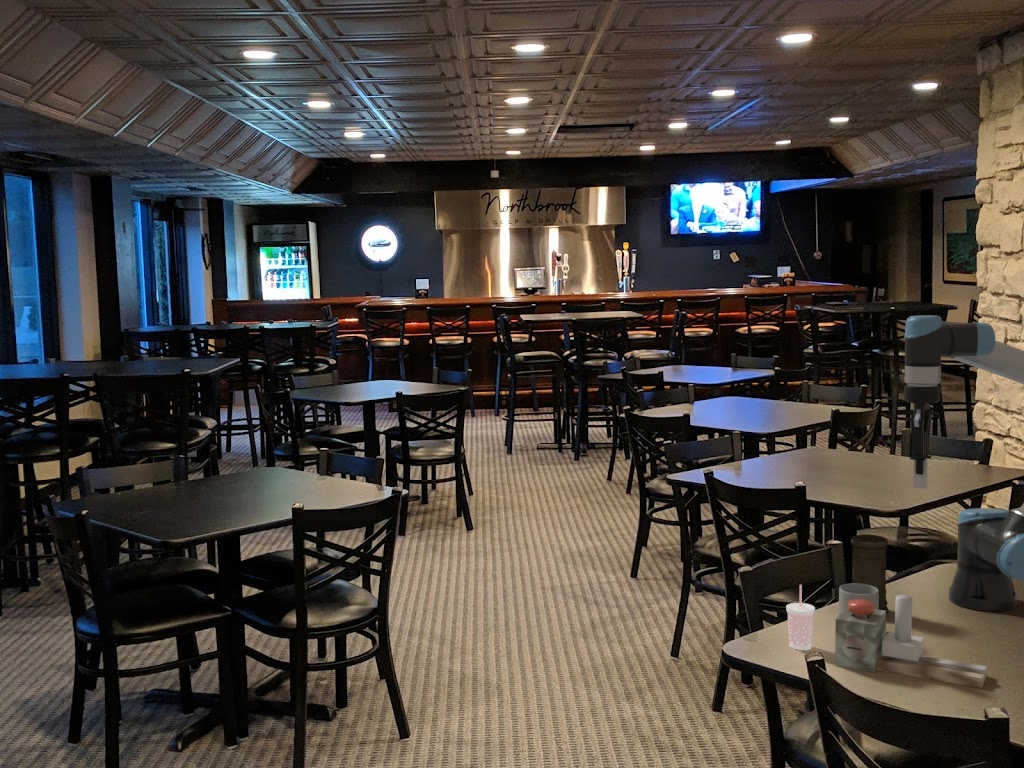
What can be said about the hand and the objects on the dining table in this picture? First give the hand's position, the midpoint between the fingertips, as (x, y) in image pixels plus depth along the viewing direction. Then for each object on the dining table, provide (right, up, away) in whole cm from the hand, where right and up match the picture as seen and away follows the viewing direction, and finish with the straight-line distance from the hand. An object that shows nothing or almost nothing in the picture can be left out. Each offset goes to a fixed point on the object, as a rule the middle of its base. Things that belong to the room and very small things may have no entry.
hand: (920, 487), depth 234 cm
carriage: (-12, -32, -21) cm, 40 cm away
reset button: (-19, -28, -17) cm, 38 cm away
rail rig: (-11, -35, -22) cm, 43 cm away
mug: (-14, -33, -1) cm, 36 cm away
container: (-7, -31, +14) cm, 35 cm away
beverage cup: (-29, -34, -8) cm, 46 cm away
